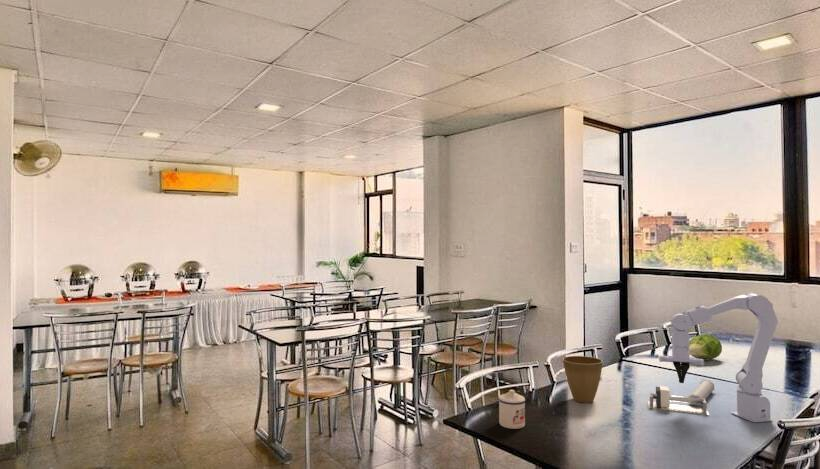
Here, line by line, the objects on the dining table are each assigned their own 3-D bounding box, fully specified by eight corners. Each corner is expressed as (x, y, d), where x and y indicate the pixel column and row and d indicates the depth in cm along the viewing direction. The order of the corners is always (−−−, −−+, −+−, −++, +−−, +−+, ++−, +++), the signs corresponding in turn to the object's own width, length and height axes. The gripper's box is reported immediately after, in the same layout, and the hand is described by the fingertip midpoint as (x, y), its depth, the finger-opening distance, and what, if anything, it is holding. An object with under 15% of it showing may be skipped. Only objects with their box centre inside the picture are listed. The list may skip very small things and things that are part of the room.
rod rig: (705, 408, 180) (705, 395, 180) (709, 415, 172) (709, 402, 172) (647, 401, 188) (647, 389, 188) (648, 408, 180) (648, 395, 180)
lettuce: (677, 361, 252) (676, 336, 253) (696, 355, 267) (695, 331, 267) (706, 366, 241) (706, 340, 241) (724, 360, 255) (724, 335, 256)
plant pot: (609, 399, 190) (608, 359, 191) (594, 408, 179) (593, 366, 180) (573, 391, 200) (572, 353, 201) (556, 400, 190) (556, 359, 190)
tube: (704, 398, 180) (716, 383, 198) (689, 391, 183) (702, 377, 202) (699, 411, 181) (712, 395, 199) (684, 403, 184) (698, 388, 203)
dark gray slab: (659, 402, 185) (659, 386, 185) (660, 407, 179) (660, 391, 180) (656, 402, 185) (655, 386, 186) (657, 406, 180) (656, 390, 180)
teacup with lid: (516, 431, 158) (516, 396, 158) (493, 424, 164) (493, 390, 164) (535, 422, 166) (534, 388, 166) (512, 415, 172) (512, 383, 173)
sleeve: (668, 402, 184) (668, 386, 184) (669, 407, 178) (669, 390, 179) (659, 401, 185) (659, 385, 185) (660, 406, 180) (660, 389, 180)
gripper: (701, 345, 181) (702, 381, 180) (658, 342, 186) (658, 377, 186) (704, 349, 174) (705, 386, 174) (659, 346, 180) (660, 382, 180)
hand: (681, 382), depth 180 cm, fingers closed
